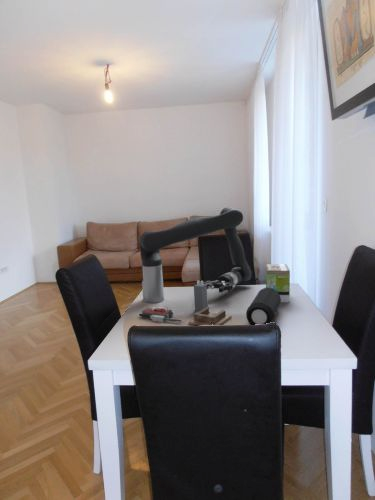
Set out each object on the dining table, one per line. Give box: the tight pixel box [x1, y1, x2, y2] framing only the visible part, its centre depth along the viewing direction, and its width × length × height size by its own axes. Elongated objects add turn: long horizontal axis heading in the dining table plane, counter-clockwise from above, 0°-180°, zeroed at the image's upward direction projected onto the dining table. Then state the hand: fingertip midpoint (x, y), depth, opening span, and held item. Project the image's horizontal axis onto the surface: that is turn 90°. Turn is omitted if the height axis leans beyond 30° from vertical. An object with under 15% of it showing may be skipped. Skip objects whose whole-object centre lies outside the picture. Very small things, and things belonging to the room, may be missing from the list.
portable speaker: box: [246, 287, 282, 326], centre depth 137 cm, size 26×10×10 cm, turn 158°
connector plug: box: [193, 280, 209, 312], centre depth 151 cm, size 4×4×13 cm
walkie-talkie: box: [138, 306, 182, 323], centre depth 144 cm, size 9×4×20 cm
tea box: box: [265, 263, 291, 303], centre depth 163 cm, size 15×10×15 cm, turn 170°
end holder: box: [187, 307, 232, 326], centre depth 138 cm, size 12×13×4 cm
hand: (211, 289), depth 159 cm, fingers open, 8 cm apart
